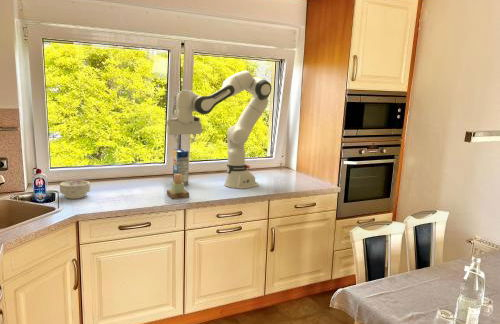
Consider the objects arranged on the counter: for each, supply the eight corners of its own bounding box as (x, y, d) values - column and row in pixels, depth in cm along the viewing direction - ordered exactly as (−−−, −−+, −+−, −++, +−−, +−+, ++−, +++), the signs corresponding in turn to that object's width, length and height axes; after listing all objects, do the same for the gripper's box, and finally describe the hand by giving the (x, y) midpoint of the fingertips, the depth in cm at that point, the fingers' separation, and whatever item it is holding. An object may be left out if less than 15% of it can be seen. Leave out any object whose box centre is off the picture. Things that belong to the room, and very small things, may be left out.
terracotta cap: (182, 183, 218) (182, 175, 217) (175, 184, 216) (175, 175, 215) (180, 181, 221) (180, 173, 220) (173, 182, 219) (173, 173, 218)
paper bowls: (82, 191, 220) (81, 178, 219) (95, 196, 211) (95, 183, 209) (55, 196, 209) (54, 182, 207) (68, 202, 199) (67, 187, 198)
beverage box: (177, 186, 241) (178, 151, 236) (173, 182, 250) (173, 149, 246) (188, 185, 244) (188, 151, 239) (183, 181, 253) (183, 148, 249)
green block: (184, 192, 218) (184, 183, 217) (174, 192, 216) (174, 184, 215) (181, 189, 223) (181, 181, 222) (172, 190, 220) (172, 182, 219)
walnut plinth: (183, 192, 226) (183, 188, 226) (189, 197, 218) (189, 192, 217) (167, 194, 222) (167, 189, 221) (172, 198, 213) (172, 194, 213)
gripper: (168, 119, 212) (169, 143, 214) (203, 118, 221) (203, 142, 224) (165, 118, 217) (165, 141, 220) (199, 117, 227) (199, 140, 229)
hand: (184, 142), depth 222 cm, fingers open, 8 cm apart
